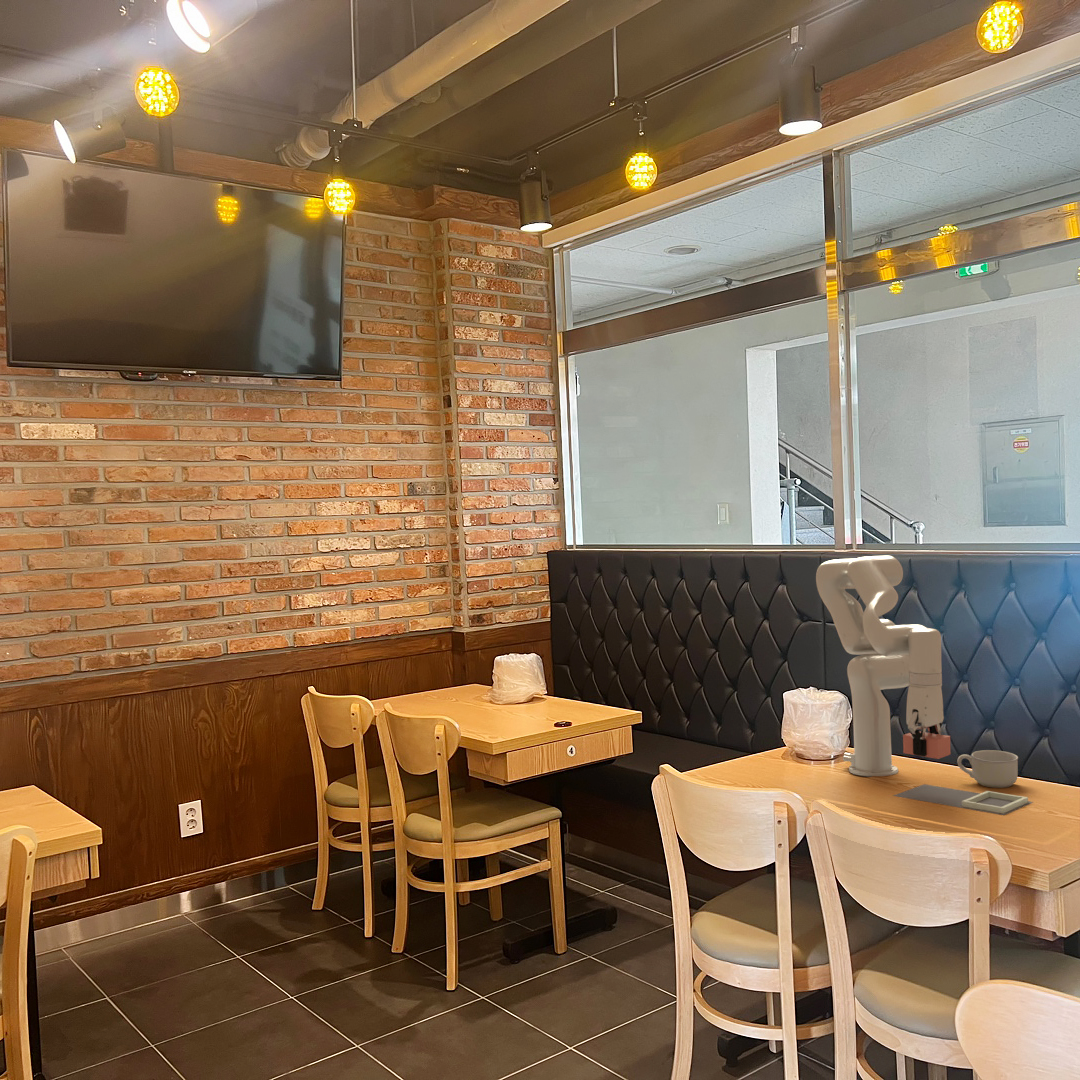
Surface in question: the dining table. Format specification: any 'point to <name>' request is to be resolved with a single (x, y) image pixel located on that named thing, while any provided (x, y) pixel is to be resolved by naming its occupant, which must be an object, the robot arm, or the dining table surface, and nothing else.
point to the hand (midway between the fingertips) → (926, 752)
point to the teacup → (992, 767)
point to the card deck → (929, 745)
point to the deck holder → (972, 804)
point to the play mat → (952, 797)
